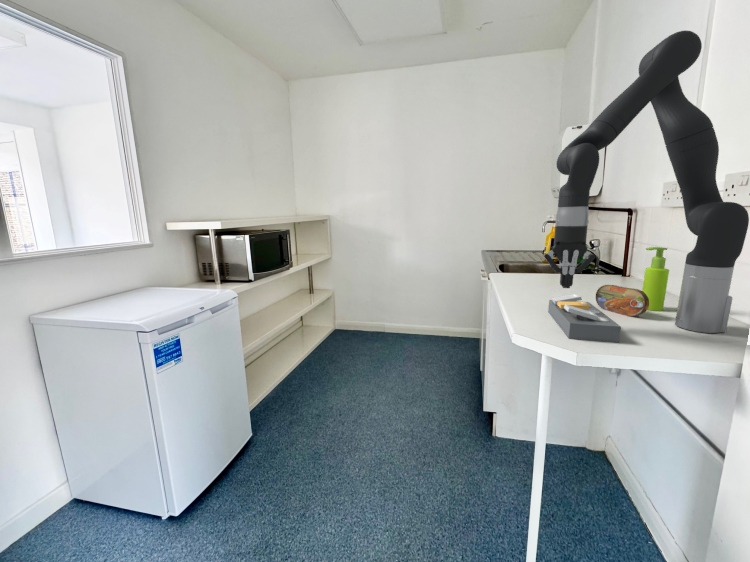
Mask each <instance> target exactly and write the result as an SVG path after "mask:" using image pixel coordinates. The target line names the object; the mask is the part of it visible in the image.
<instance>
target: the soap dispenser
mask: <svg viewBox="0 0 750 562" xmlns="http://www.w3.org/2000/svg"><path fill="white" fill-rule="evenodd" d="M645 250H646V251H655V250H656V253H655V256H654V257H652V258H651V261H650V262H651V264H650V266H649V267H645V269H644V270H645V271H644V277H643V283H642V289H641V291H643V292H644V293H645V294H646V295H647V297H648V299H649V306H648V309H647V310H646V311H650V312H651V311H652V312H654V311H655V312H662V311H663V310H664V305H665V300H666V294H667V293H666V292H667V287H668V280H669V274H670V269H668V268H666V267H665V266H666V260H667V258H666V257H664V251H667V250H668V247H660V246H650V247H646V248H645Z"/></svg>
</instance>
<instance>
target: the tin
mask: <svg viewBox="0 0 750 562" xmlns="http://www.w3.org/2000/svg"><path fill="white" fill-rule="evenodd" d="M595 301H596V304H597V306H598V307H599V308H600V309H602V310H604V311H608V312H612V313H616V314H621V315H623V316H626V317H636V316H641V315H642V314H644V313H646V312H647V311H648V310H647V309H648V306H649V299H648V297H647V295H646V294H645V293H644V292H643V291H642V289H641V290H640V289H638V288H634V287H633V288H632V287H626V286H620V285H615V284H603V285H601V286H600V287H598V289H597V290H596V293H595Z"/></svg>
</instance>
